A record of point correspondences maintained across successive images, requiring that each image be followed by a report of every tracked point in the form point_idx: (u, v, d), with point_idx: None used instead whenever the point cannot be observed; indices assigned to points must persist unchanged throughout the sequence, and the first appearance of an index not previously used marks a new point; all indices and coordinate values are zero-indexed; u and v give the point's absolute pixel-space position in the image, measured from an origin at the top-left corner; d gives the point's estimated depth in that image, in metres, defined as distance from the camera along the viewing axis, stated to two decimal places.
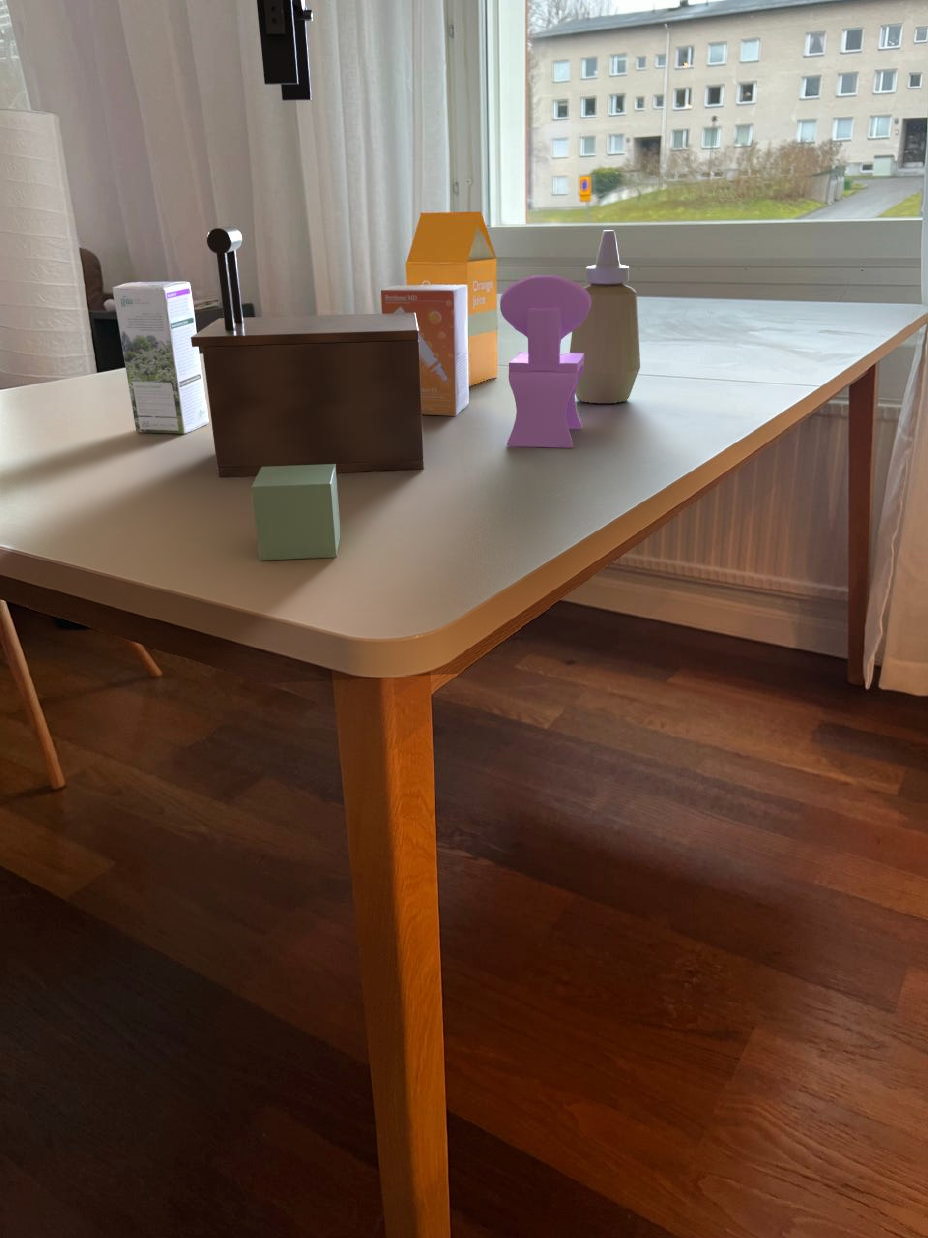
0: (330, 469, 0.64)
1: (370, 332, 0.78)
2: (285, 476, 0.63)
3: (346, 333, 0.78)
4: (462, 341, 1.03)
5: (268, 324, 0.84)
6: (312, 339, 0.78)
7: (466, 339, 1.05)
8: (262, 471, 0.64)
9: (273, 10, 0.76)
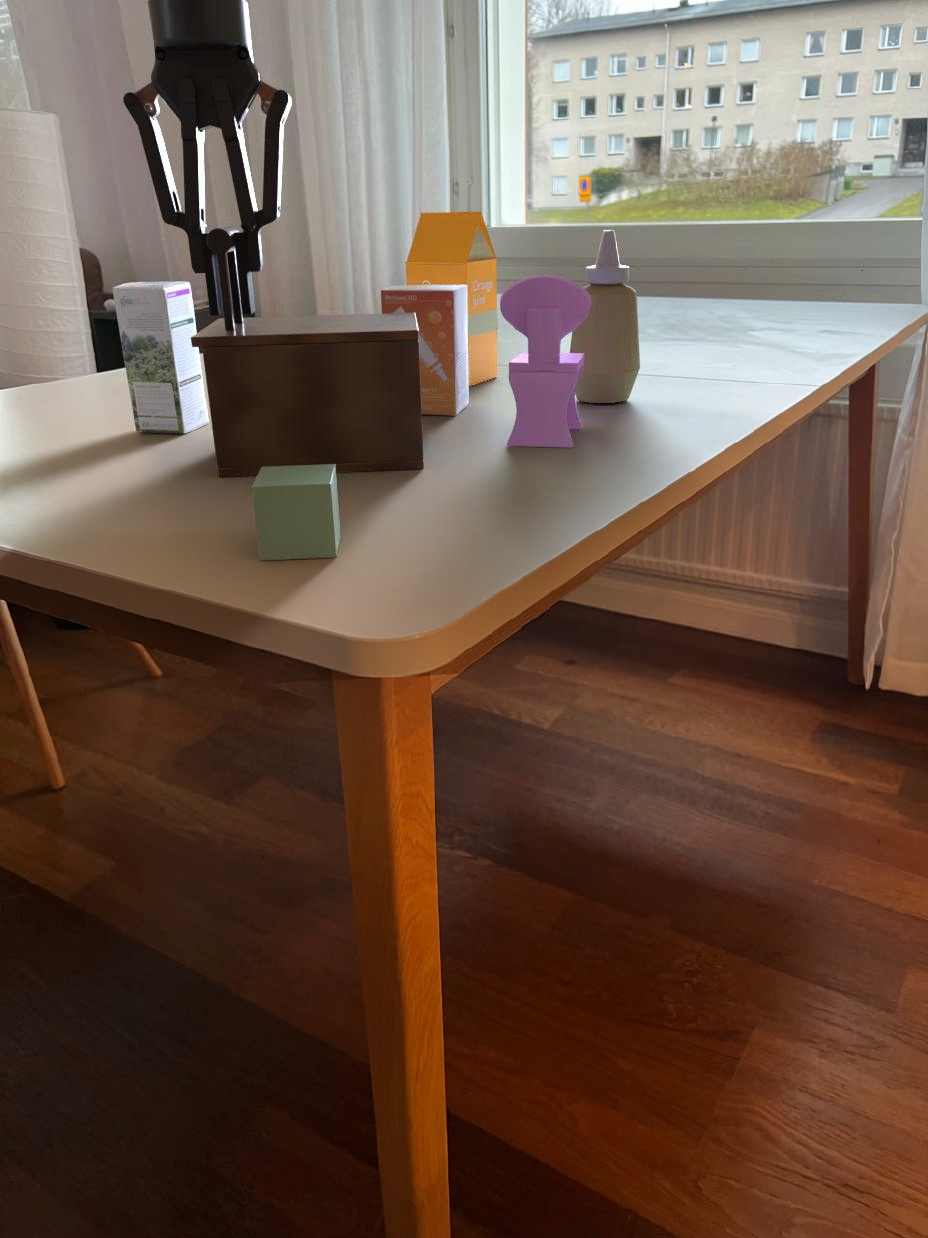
0: (330, 469, 0.64)
1: (370, 332, 0.78)
2: (285, 476, 0.63)
3: (346, 333, 0.78)
4: (462, 341, 1.03)
5: (268, 324, 0.84)
6: (312, 339, 0.78)
7: (466, 339, 1.05)
8: (262, 471, 0.64)
9: None
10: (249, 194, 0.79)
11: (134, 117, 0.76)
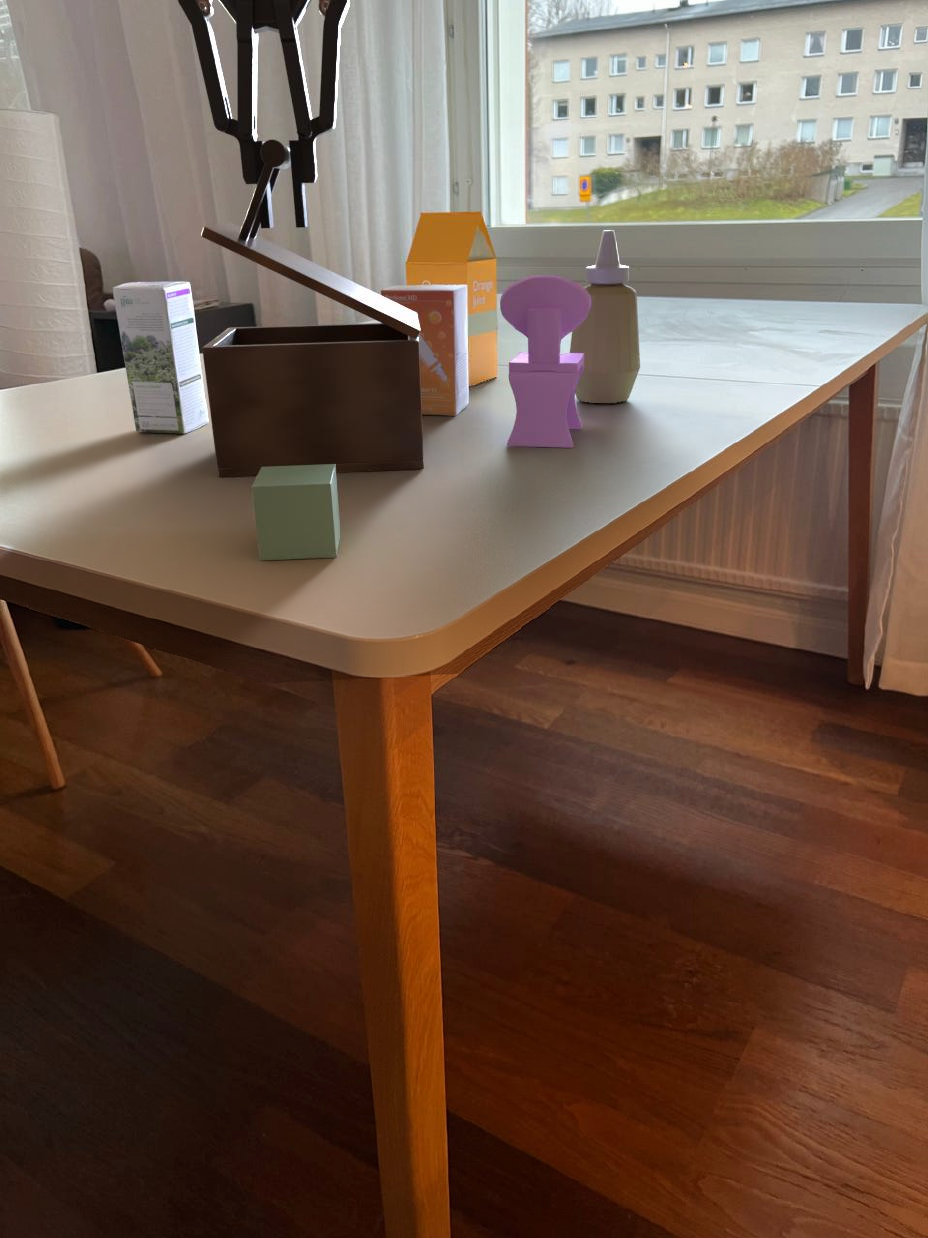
0: (330, 469, 0.64)
1: (376, 310, 0.78)
2: (285, 476, 0.63)
3: (353, 299, 0.77)
4: (462, 341, 1.03)
5: (279, 253, 0.82)
6: (318, 288, 0.77)
7: (466, 339, 1.05)
8: (262, 471, 0.64)
9: None
10: (306, 99, 0.76)
11: (188, 16, 0.73)
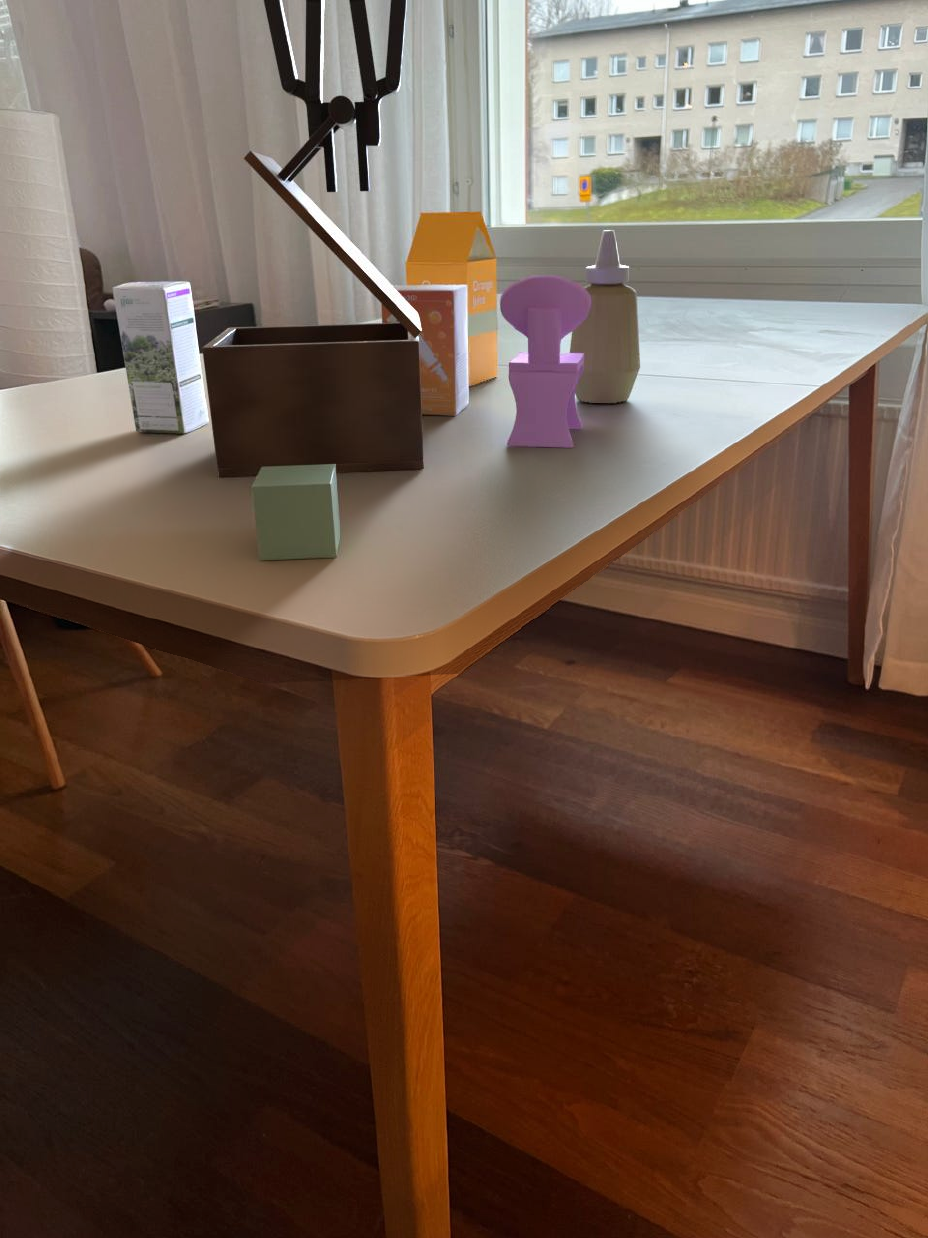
0: (330, 469, 0.64)
1: (387, 296, 0.77)
2: (285, 476, 0.63)
3: (369, 277, 0.76)
4: (462, 341, 1.03)
5: (310, 205, 0.81)
6: (339, 254, 0.76)
7: (466, 339, 1.05)
8: (262, 471, 0.64)
9: None
10: (372, 60, 0.75)
11: None
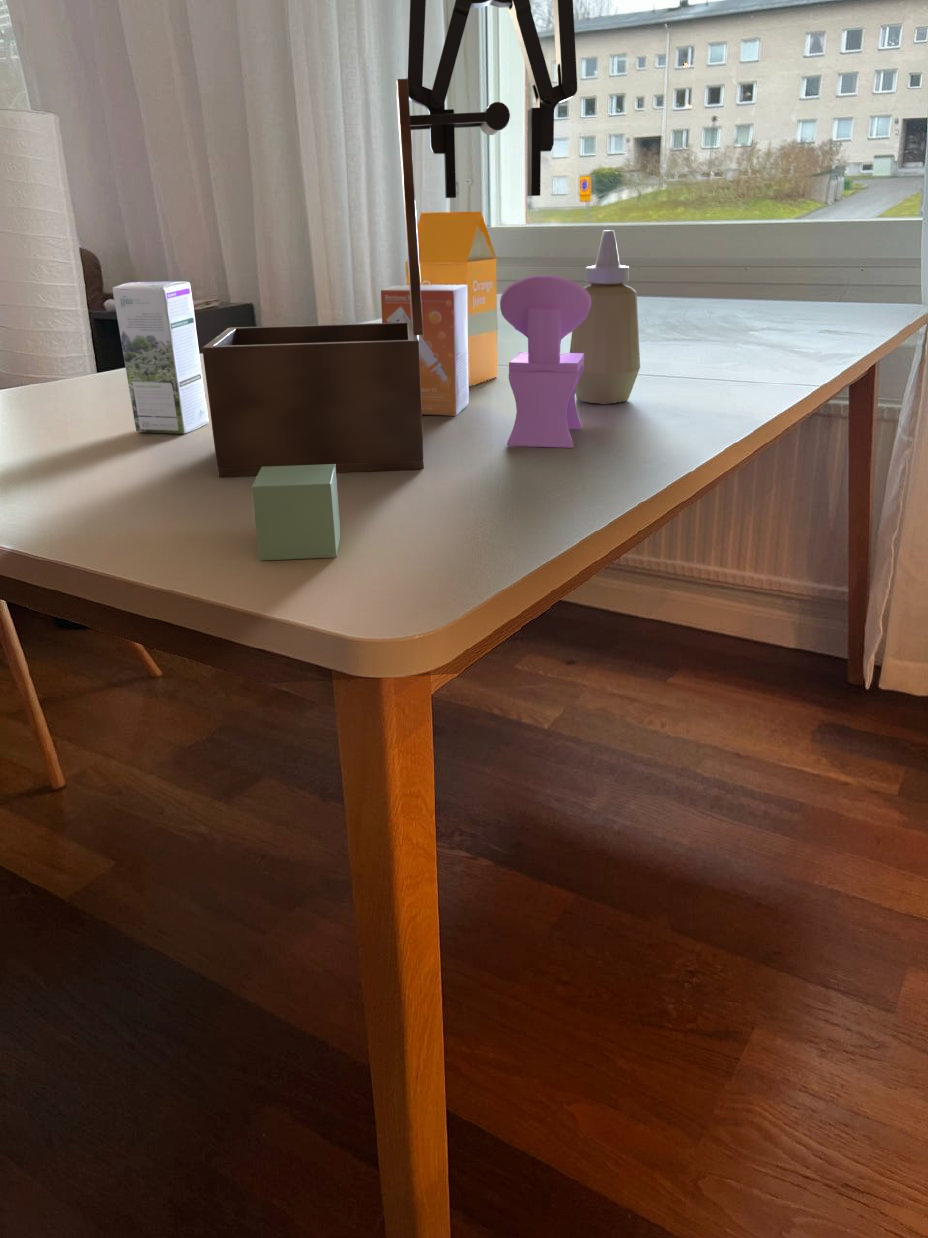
0: (330, 469, 0.64)
1: (419, 284, 0.77)
2: (285, 476, 0.63)
3: (417, 258, 0.76)
4: (462, 341, 1.03)
5: None
6: (409, 220, 0.75)
7: (466, 339, 1.05)
8: (262, 471, 0.64)
9: None
10: (545, 66, 0.76)
11: None
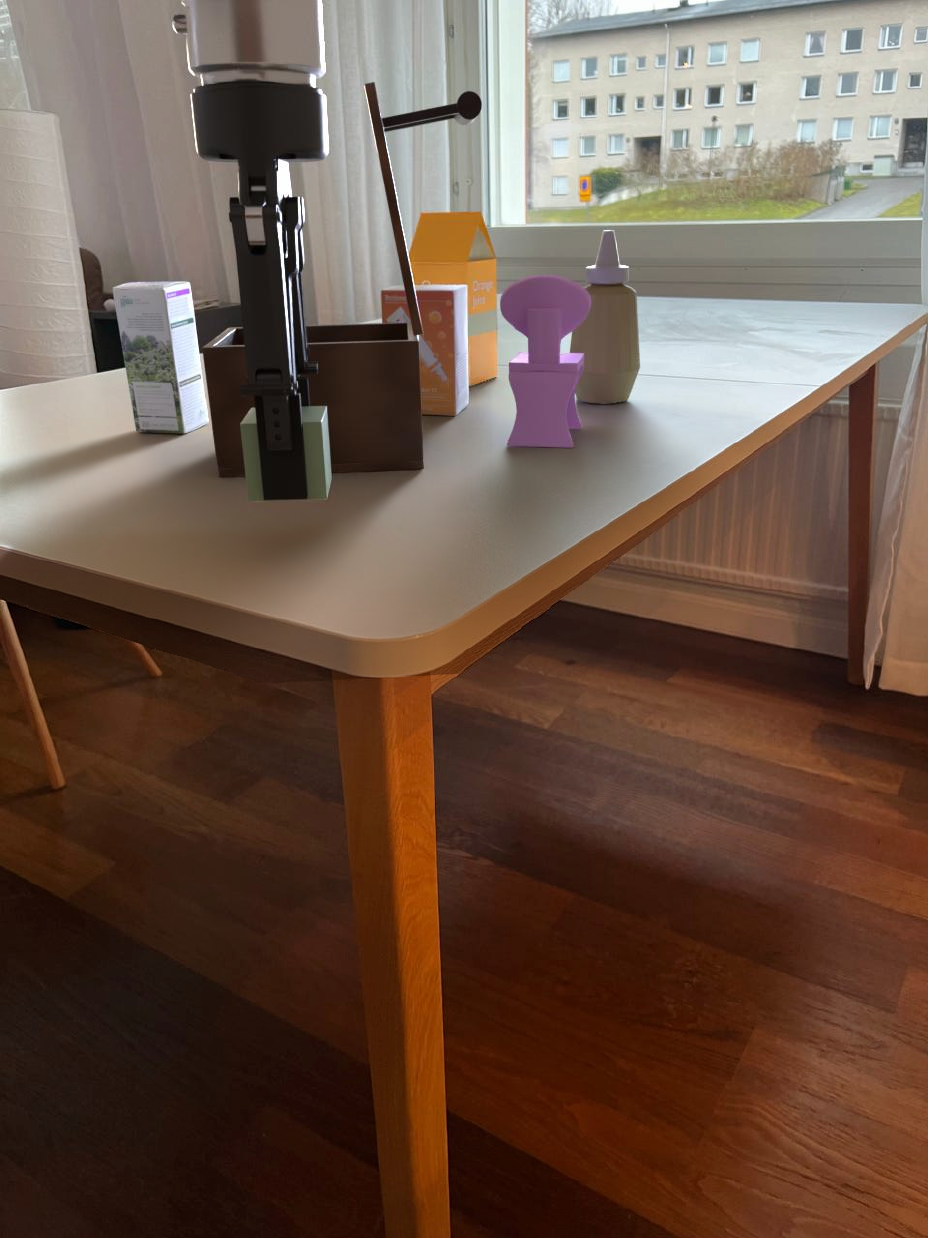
0: (321, 410, 0.62)
1: (412, 284, 0.77)
2: None
3: (407, 259, 0.76)
4: (462, 341, 1.03)
5: None
6: (395, 222, 0.75)
7: (466, 339, 1.05)
8: (252, 411, 0.62)
9: None
10: None
11: (280, 240, 0.52)
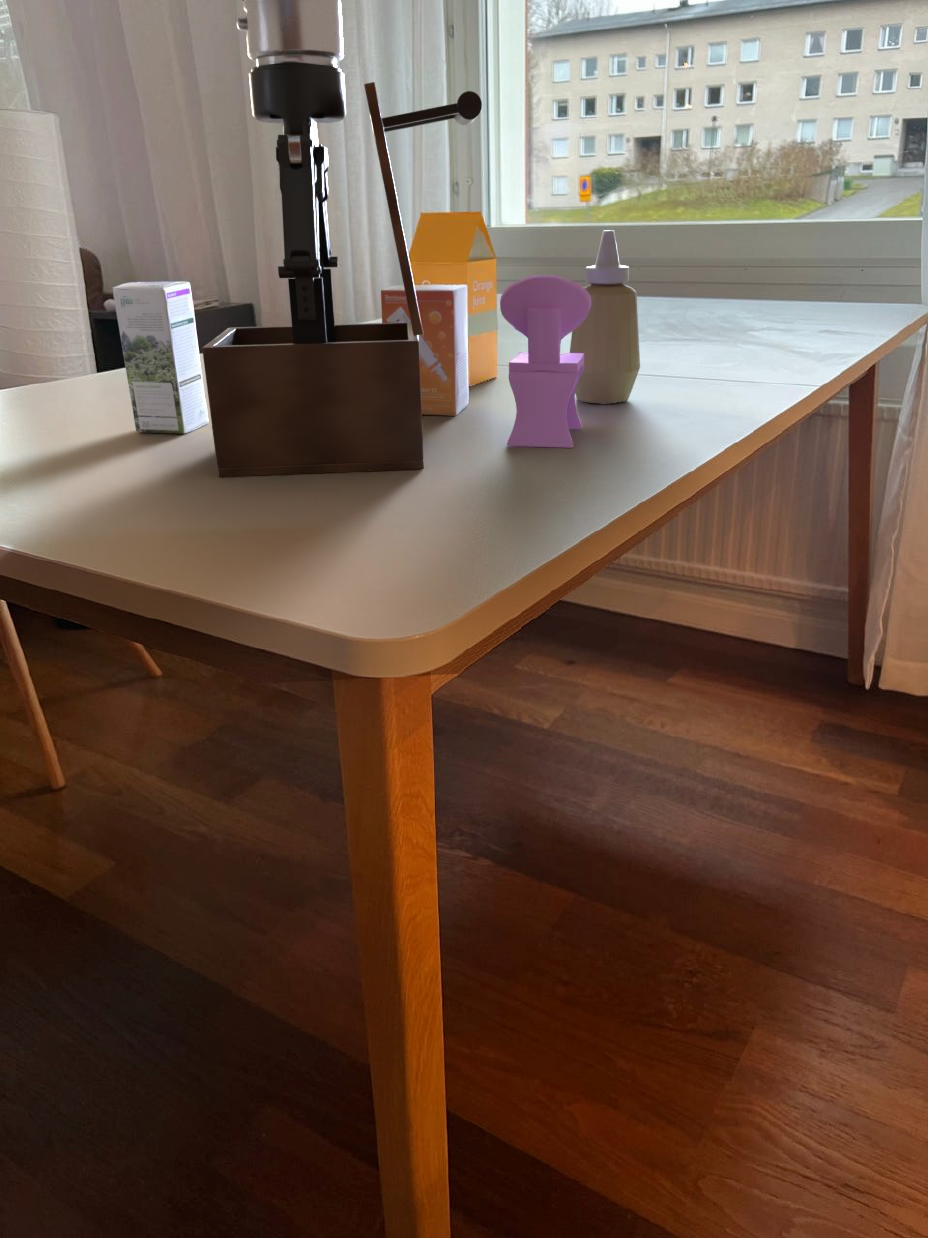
0: None
1: (412, 284, 0.77)
2: None
3: (407, 259, 0.76)
4: (462, 341, 1.03)
5: None
6: (395, 222, 0.75)
7: (466, 339, 1.05)
8: None
9: None
10: None
11: (311, 158, 0.73)
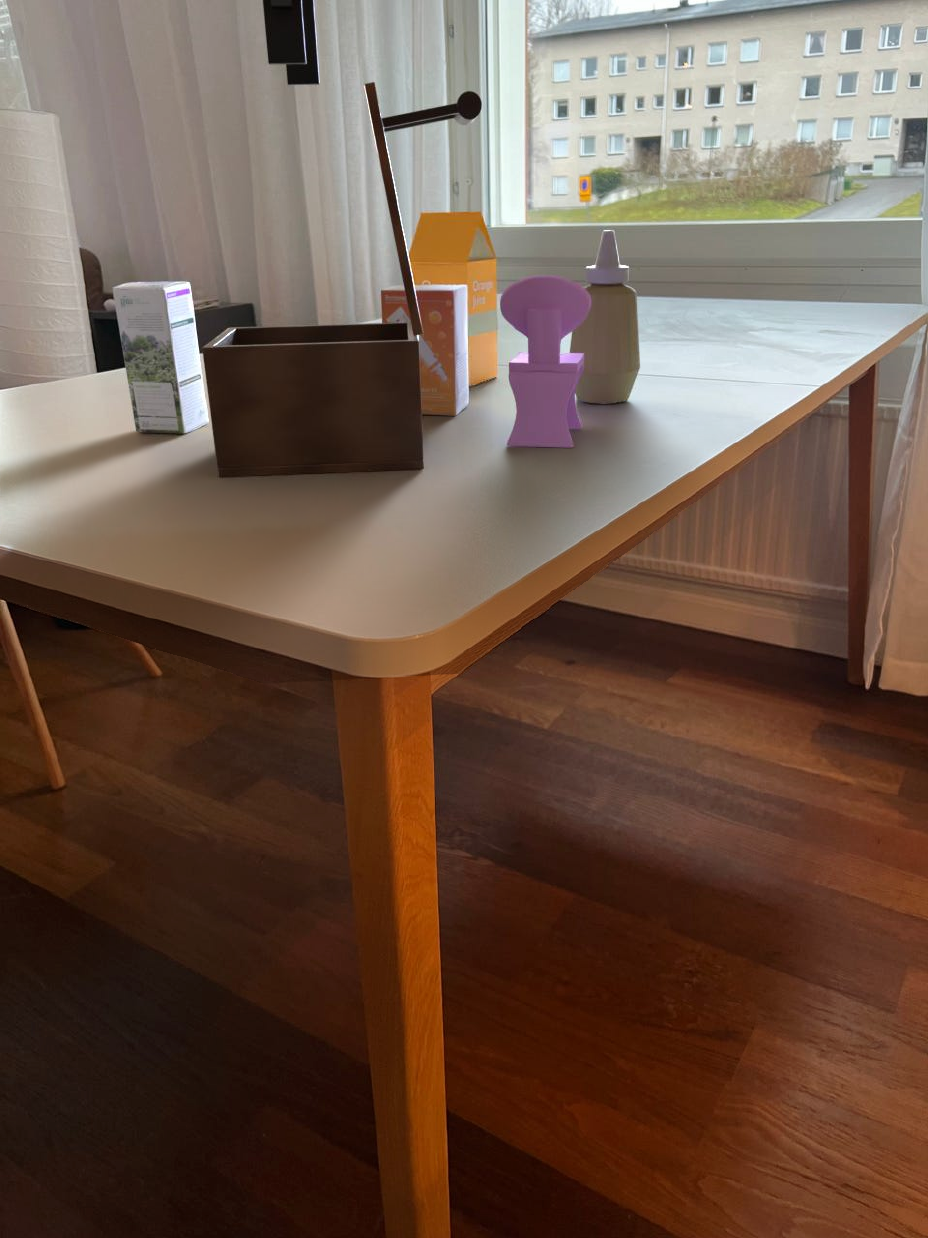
0: None
1: (412, 284, 0.77)
2: None
3: (407, 259, 0.76)
4: (462, 341, 1.03)
5: None
6: (395, 222, 0.75)
7: (466, 339, 1.05)
8: None
9: None
10: None
11: None
